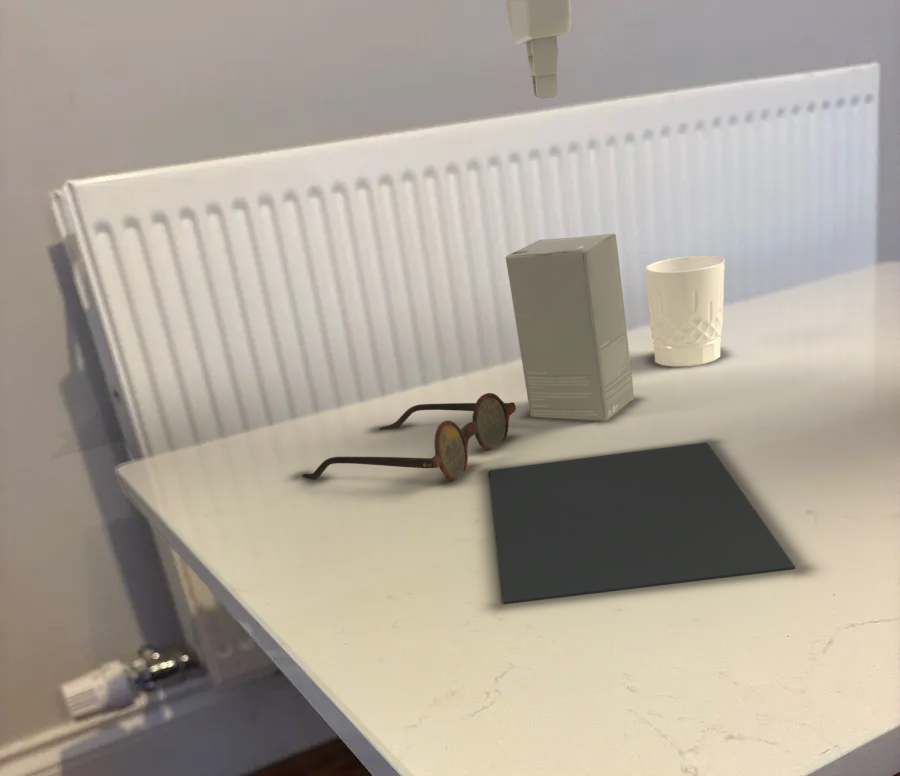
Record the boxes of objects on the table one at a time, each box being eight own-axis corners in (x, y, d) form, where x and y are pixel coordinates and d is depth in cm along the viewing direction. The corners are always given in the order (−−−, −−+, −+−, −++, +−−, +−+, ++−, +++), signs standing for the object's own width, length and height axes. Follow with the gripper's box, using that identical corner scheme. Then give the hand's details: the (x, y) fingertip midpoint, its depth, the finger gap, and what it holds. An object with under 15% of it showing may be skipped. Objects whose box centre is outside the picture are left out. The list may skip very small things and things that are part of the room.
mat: (707, 448, 85) (706, 442, 84) (795, 575, 63) (795, 566, 63) (490, 476, 86) (489, 470, 85) (504, 610, 64) (503, 601, 64)
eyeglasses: (441, 496, 83) (432, 437, 81) (296, 484, 90) (284, 430, 88) (519, 435, 94) (513, 382, 92) (384, 429, 101) (375, 379, 99)
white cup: (634, 367, 109) (628, 270, 104) (680, 348, 113) (676, 254, 109) (695, 375, 103) (692, 273, 99) (741, 355, 108) (740, 256, 103)
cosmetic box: (635, 404, 98) (626, 230, 91) (601, 428, 93) (588, 246, 86) (557, 399, 102) (542, 234, 95) (521, 422, 97) (502, 250, 90)
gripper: (582, -111, 77) (595, 94, 83) (556, -75, 95) (568, 90, 101) (498, -97, 77) (517, 105, 83) (488, -64, 95) (505, 100, 102)
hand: (545, 97), depth 92 cm, fingers open, 3 cm apart
